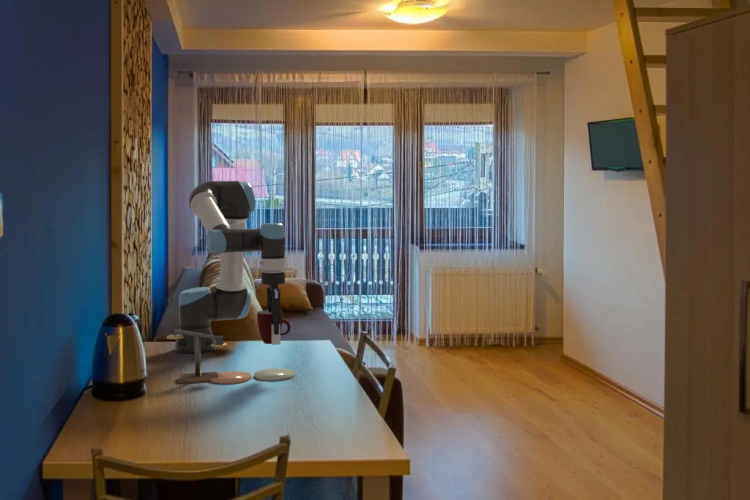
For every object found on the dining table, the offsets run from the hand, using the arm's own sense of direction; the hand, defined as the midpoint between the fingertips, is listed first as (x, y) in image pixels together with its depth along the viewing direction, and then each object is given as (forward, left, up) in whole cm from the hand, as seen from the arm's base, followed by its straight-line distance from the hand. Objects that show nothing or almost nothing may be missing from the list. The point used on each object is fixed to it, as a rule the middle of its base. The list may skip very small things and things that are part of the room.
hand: (274, 341), depth 243 cm
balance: (-2, -24, -11) cm, 27 cm away
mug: (0, 0, 0) cm, 0 cm away
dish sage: (0, 0, -11) cm, 11 cm away
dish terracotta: (0, -14, -11) cm, 18 cm away
